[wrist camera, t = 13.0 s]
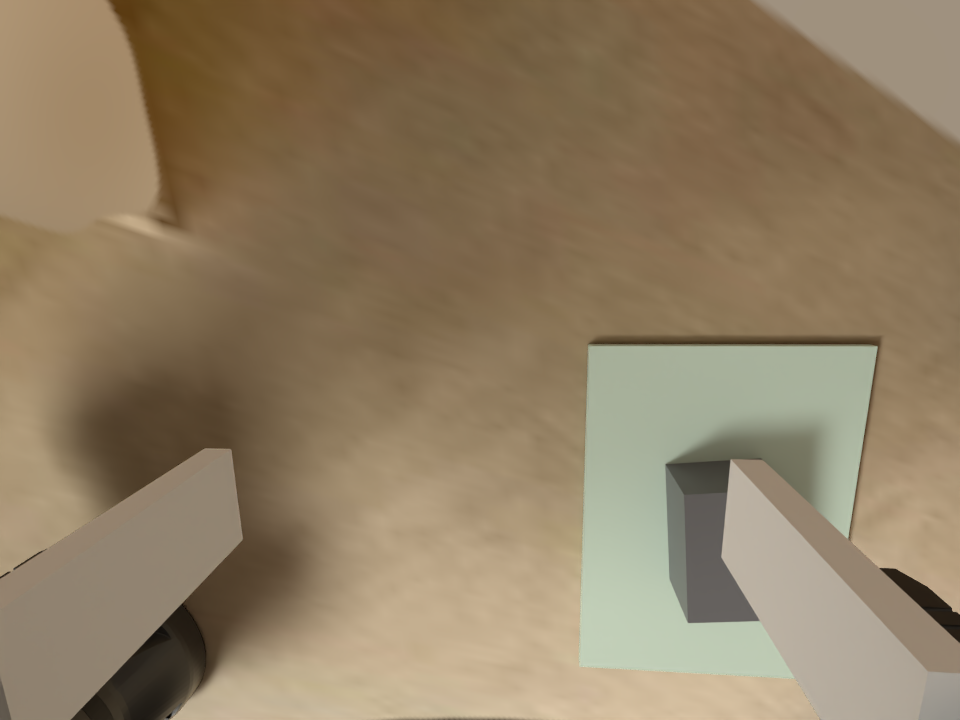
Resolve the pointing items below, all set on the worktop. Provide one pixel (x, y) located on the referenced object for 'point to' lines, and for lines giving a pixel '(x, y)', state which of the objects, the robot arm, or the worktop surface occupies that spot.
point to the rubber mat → (701, 438)
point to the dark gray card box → (701, 543)
